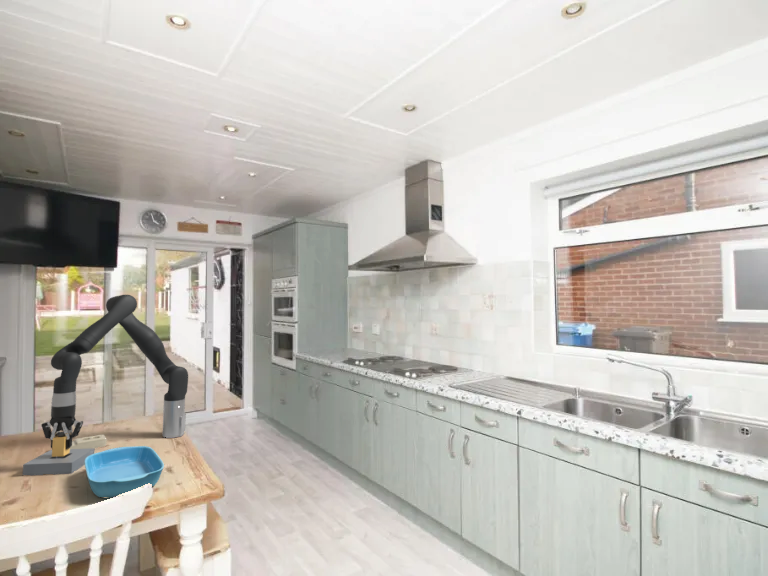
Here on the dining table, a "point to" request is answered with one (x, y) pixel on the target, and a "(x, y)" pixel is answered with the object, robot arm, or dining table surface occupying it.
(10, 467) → the dining table surface
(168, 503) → the dining table surface
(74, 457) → the socket
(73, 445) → the electrical outlet
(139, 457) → the casserole dish
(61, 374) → the robot arm
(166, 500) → the dining table surface
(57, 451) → the plug
